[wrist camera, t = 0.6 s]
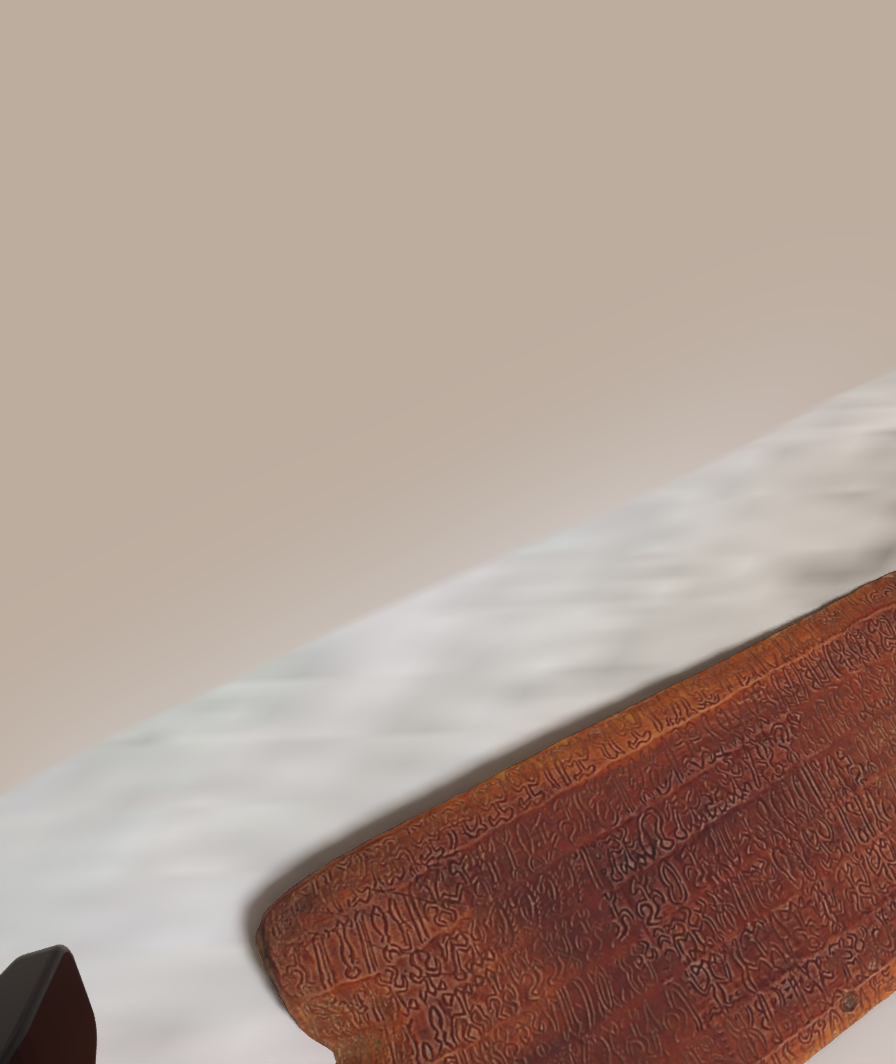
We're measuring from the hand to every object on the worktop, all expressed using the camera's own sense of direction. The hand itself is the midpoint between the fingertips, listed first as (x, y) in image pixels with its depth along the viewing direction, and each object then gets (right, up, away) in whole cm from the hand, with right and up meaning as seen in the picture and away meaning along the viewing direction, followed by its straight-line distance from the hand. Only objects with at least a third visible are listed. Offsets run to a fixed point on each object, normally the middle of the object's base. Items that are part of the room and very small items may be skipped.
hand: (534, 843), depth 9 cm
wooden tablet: (+8, -6, +16) cm, 19 cm away
